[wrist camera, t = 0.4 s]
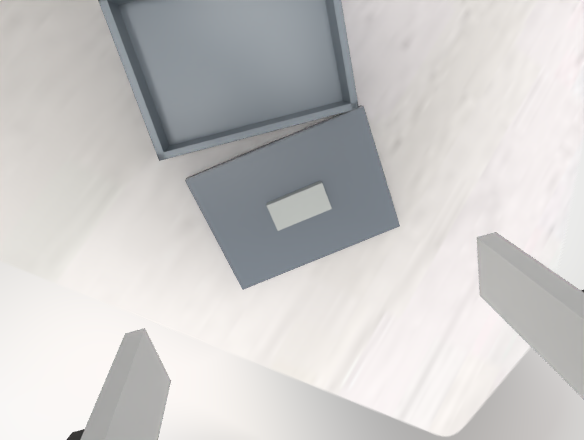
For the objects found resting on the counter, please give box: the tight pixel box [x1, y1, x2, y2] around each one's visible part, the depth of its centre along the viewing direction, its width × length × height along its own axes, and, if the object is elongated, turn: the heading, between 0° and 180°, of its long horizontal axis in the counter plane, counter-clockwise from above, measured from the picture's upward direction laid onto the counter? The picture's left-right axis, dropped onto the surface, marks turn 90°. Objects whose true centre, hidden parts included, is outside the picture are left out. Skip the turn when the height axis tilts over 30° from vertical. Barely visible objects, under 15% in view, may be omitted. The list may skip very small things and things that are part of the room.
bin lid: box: [185, 106, 400, 289], centre depth 40 cm, size 14×19×2 cm
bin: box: [98, 0, 359, 161], centre depth 34 cm, size 13×18×4 cm
